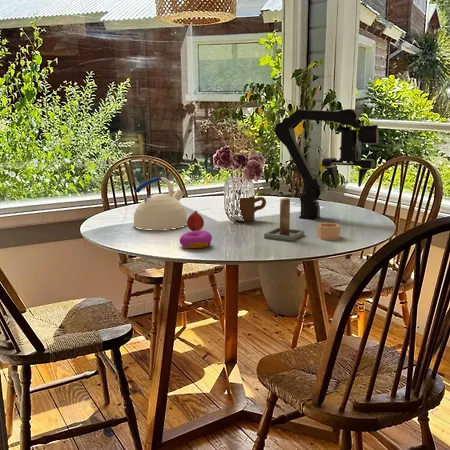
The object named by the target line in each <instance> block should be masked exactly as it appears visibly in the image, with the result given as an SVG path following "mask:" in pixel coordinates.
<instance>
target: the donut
mask: <svg viewBox="0 0 450 450" xmlns="http://www.w3.org/2000/svg"><path fill="white" fill-rule="evenodd" d="M212 240H213V235H212V234H211V233H210V232H209V231H207V230H202V229H201V230H199V231H188V232H185V233H183V234H182V235H181V236H180V238H179V243H180V245H181V246H182V247H183V248H184V247H185V248H184V249H186V248H197V249H203V248H205V247H208V246H211V244H212Z"/></svg>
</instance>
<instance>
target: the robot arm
mask: <svg viewBox="0 0 450 450" xmlns="http://www.w3.org/2000/svg"><path fill="white" fill-rule="evenodd" d="M304 120H305V121H320V122H321V121H322V122H333V123H337V124H339V125H338V127H337V128H335V132H340V146H339V151H340V155H339V159H337V158H336V157H326V158H323V159H321V167H324V169H325V170H327V171H328V173H329V175H330V177H331V180H332V182H333V184H334V186H337V185H338V177H337V175H338V174H337V170H338V166H354V167H360V168H358V181H357V182H358V183H357V184H358V188H361V186H362V183H363V181H364V178H365V176H366V174H367V172H368V171H369V170H372V169H374V168H375V167H376V160H375V159H373V158H364V159H363V158H362V159H361V157H362V153H361V152H360V150H358V149H359V147H358V142H360V144H361V145H378V144H379V137H380V135H379V134H380V133H379V128H378V127H379V126H378V124H373V125H364V123H363V122H362V121H361V119H360V115H359V112H358V111H357V110H356V109H354V108H348V109H346V108H345V109H340V110H338V109H337V110H318V109H315V110H314V109H302V108H300V109H295V111H294V112H292V114H290V115H289V116H288V117H287V118H286V119H284V120H283V121H281V122H279V123H276V125H275V126H274V129H273V130H274V131H273V132H274V134H275V136H276V137H277V139H278V140H279V141H280V142H281V143H282V144H283V145H284V146H285V147H286V149H287V151H288V153H289V156H290V157H291V159H292V162H293V163H294V165H295V167H296V169H297V171H298V173H299V175H300V177H301V179H302V183H303V189H304V194H303V195H302V196H300V197H299V200H300V201H299V202H300V215H298V218H299V219H308V220H316V219H317V218H320V217H321V213H320V212H321V206H320V201H319V199H320V197H321V196H322V195H324V193H325V187H324V186H325V184H324V183H323V181H322V178H321V176H316V175H314V173H313V171H312V169H311V167H310V166H309V164H308V162H307V160H306V158H305V157H306V156H304V154H303V151H302V150H301V148H300V146H299V143H298V142H297V138H296V137H297V136H296V135H297V134H296V131H295V129H296V128H297V127H298V126H299V124H300V123H301V122H302V121H304ZM353 128H354V129H353Z"/></svg>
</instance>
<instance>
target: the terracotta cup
mask: <svg viewBox="0 0 450 450" xmlns="http://www.w3.org/2000/svg"><path fill="white" fill-rule="evenodd" d="M316 225H317V227H316V238H318V239H321V240H327V241H330V240H331V241H332V240H334V241H335V240H338V239H340V238H341V225H340V224H338V223H336V222H320V223H318V224H316Z"/></svg>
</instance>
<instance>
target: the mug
mask: <svg viewBox="0 0 450 450" xmlns="http://www.w3.org/2000/svg"><path fill="white" fill-rule="evenodd" d="M257 202H261V203H260V204H259V205H255V204H256V203H257ZM266 205H267V200H266V198H265V197H263V196H257V197H255V195H253V197H249V198H241V199H240V210H241V213H242V214H241V215H242V216H243V219H244V221H245V222H244V223H252V222H253V221H255V219H256V218H255V213H256V212H257V211H260V210H263V209H264V208H265V207H266Z"/></svg>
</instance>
